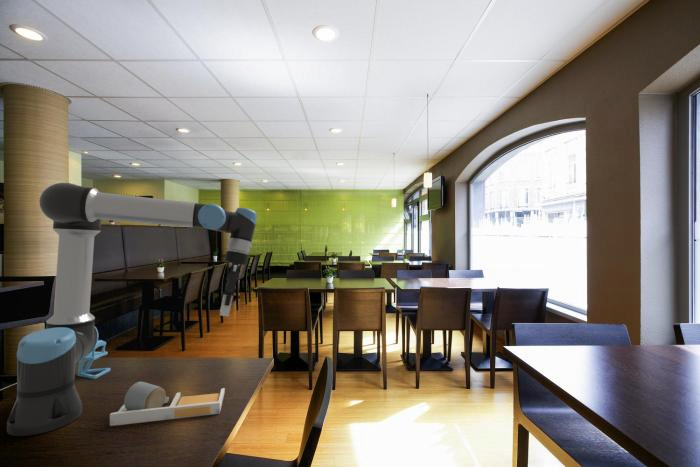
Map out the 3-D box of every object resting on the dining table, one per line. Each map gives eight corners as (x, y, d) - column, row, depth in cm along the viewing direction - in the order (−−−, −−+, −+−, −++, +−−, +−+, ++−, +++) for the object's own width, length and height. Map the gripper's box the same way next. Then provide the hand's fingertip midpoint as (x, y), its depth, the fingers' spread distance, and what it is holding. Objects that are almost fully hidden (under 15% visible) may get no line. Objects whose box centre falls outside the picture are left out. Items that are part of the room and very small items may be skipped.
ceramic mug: (146, 420, 93) (147, 391, 94) (122, 415, 96) (123, 387, 96) (176, 403, 103) (177, 377, 104) (154, 399, 106) (155, 373, 106)
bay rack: (109, 426, 90) (109, 415, 90) (129, 401, 104) (129, 391, 104) (219, 414, 97) (219, 403, 97) (224, 391, 111) (224, 382, 111)
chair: (89, 370, 128) (89, 337, 128) (111, 370, 128) (111, 337, 128) (71, 378, 120) (71, 344, 120) (94, 379, 120) (95, 344, 120)
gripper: (251, 251, 110) (237, 319, 106) (246, 256, 133) (233, 312, 129) (227, 246, 108) (211, 315, 104) (226, 252, 131) (212, 309, 127)
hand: (223, 314), depth 117 cm, fingers open, 13 cm apart
